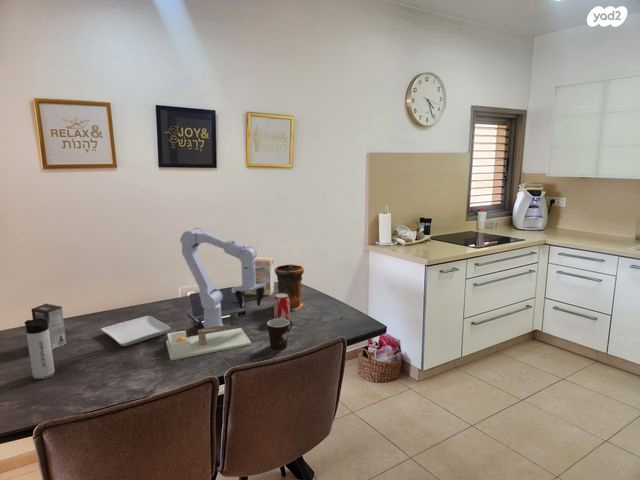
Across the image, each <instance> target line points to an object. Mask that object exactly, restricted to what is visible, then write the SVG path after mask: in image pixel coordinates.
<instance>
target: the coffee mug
mask: <svg viewBox="0 0 640 480" xmlns="http://www.w3.org/2000/svg"><path fill="white" fill-rule="evenodd" d="M266 325H267V330H268V337H269V343H270V344H269V346H270V349H271V350H274V351H282V350H285V349H286V348H287V347H288V337H289V333H290V331H291V329H292V327H293V322H292V320H286V319H280V318H279V319H275V318H274V319H273V318H272V319H270V320H268V321H267V323H266Z"/></svg>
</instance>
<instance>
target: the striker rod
mask: <svg viewBox="0 0 640 480" xmlns="http://www.w3.org/2000/svg"><path fill="white" fill-rule="evenodd" d="M238 314H239V313H238V312H230V313H229V320H230V321H229V322H230V323H229V324H223V326H217V327H211V328H201V329H198V330H197V333H198V334H197V335H198V336H199V342H200V344H201V345H204V344H206V335H205V334H206V333H208V332H209V333H211V332H217V331H223V330H228V329H234V328H238V324H239V322H238V321H239V317H238Z"/></svg>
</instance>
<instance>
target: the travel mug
mask: <svg viewBox="0 0 640 480" xmlns="http://www.w3.org/2000/svg"><path fill="white" fill-rule="evenodd" d="M24 325H25V332H26V340H27V347H28V354H29V359H30V367H31V373H32V378H34V380H35V379H44V380H46V379H45V378H47V379H49V378H48V377H50V378H51V377H53V376H54V375H55V374H54V373H55V363H54V358H53V357H54V356H53V350H52V348H51V341H50V333H49V327H48V321H47V320H45V319H33V318H32V319H28V320H26V321H24ZM52 375H53V376H52Z"/></svg>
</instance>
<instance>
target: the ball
mask: <svg viewBox="0 0 640 480" xmlns="http://www.w3.org/2000/svg"><path fill="white" fill-rule="evenodd" d="M183 341H186V338H185V337H182V336H181V337H178V338H177V339H176V343H177V342H183Z"/></svg>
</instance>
